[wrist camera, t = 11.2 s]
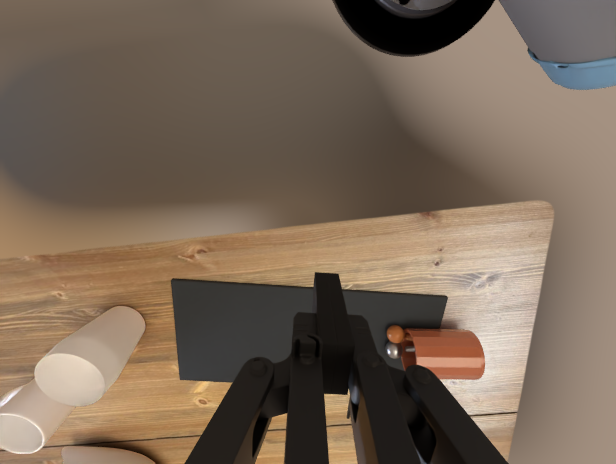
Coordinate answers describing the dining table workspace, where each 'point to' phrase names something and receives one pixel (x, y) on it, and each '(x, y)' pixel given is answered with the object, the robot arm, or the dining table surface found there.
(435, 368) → the spoon cup
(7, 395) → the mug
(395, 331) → the brown piece
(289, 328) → the mat
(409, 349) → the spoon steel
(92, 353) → the cup
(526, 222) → the dining table surface
